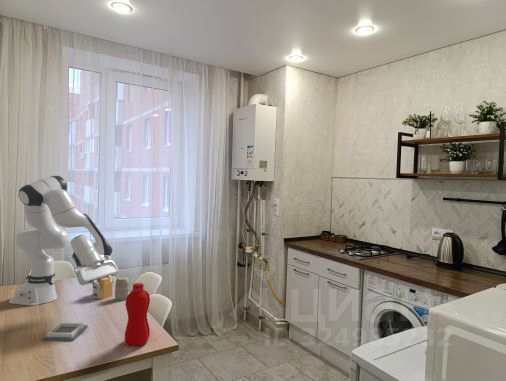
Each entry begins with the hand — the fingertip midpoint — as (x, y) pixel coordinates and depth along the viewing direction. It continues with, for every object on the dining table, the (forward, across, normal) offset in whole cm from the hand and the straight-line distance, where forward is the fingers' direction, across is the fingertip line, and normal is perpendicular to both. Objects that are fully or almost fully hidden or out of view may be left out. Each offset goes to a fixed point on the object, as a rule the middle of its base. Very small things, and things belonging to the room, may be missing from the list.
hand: (105, 286), depth 162 cm
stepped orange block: (+3, 0, +4) cm, 5 cm away
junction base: (+8, -16, +16) cm, 24 cm away
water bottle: (+31, -5, -6) cm, 32 cm away
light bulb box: (-9, +23, +34) cm, 42 cm away
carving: (0, +26, +25) cm, 36 cm away
